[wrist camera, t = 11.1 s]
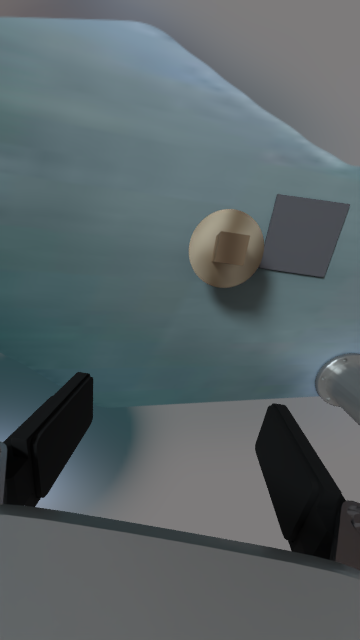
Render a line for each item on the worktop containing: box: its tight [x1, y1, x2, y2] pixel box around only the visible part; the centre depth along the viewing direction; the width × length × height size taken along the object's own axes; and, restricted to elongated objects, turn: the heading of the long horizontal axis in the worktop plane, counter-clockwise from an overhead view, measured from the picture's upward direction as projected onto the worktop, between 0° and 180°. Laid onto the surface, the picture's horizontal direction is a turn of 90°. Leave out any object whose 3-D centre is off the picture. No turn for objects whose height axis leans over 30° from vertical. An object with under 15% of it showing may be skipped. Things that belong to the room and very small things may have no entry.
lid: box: [189, 209, 264, 288], centre depth 27 cm, size 11×11×6 cm
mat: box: [259, 194, 350, 277], centre depth 34 cm, size 12×12×1 cm
